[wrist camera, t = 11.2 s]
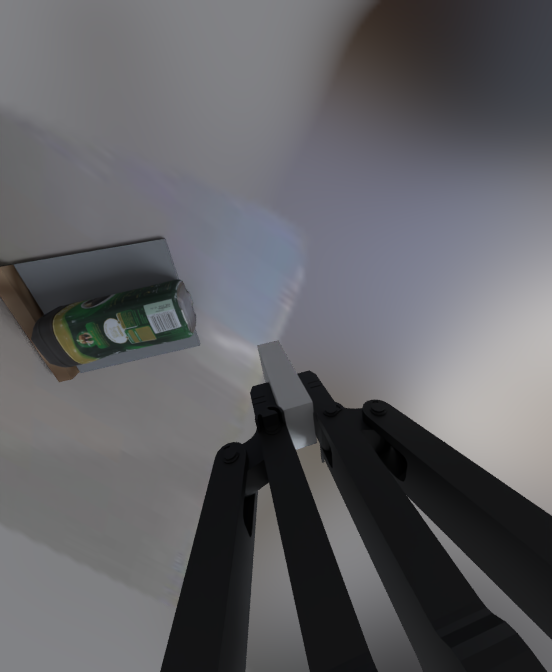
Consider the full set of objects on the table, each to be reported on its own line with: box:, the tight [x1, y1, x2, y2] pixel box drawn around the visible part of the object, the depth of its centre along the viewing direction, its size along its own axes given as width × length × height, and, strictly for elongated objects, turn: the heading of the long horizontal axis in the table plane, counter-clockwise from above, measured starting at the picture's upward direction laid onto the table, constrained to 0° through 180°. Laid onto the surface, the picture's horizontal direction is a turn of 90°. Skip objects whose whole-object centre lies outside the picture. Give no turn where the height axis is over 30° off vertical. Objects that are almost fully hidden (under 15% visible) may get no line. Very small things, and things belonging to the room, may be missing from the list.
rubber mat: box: [13, 239, 200, 373], centre depth 38 cm, size 18×20×1 cm
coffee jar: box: [31, 279, 196, 367], centre depth 34 cm, size 10×8×19 cm
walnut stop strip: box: [0, 265, 80, 382], centre depth 36 cm, size 18×2×2 cm, turn 9°
